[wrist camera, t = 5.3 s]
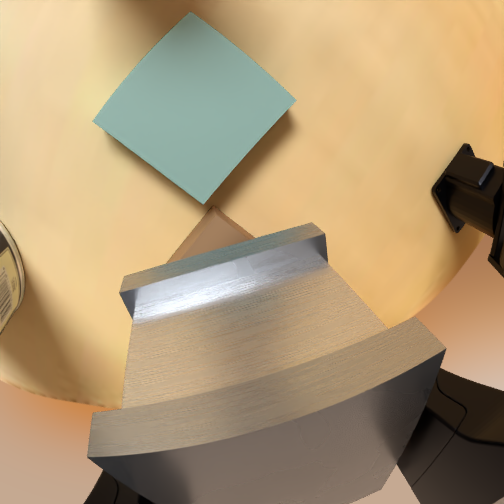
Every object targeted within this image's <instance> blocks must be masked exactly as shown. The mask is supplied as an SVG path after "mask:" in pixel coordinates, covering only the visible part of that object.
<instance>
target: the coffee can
mask: <svg viewBox="0 0 504 504" xmlns="http://www.w3.org/2000/svg"><path fill="white" fill-rule="evenodd" d="M24 291H25V279H24V270H23V265H22V261H21V258H20V255H19V252H18V250H17V247H16V245H15V243H14V241H13V239H12V238H11V236H10V234H9V232H8V231H7V229H6V228H5V227H4V225H3V224H2V223H1V222H0V335H1V333H2V331H3V330H4V328H5V326H6V324H7V323H8V321H9V320H10V318H11V316H12V315H13V313H14V312H15V311H16V310H17V309H18V307H19V306H20V304H21V302H22V299H23V295H24Z"/></svg>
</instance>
